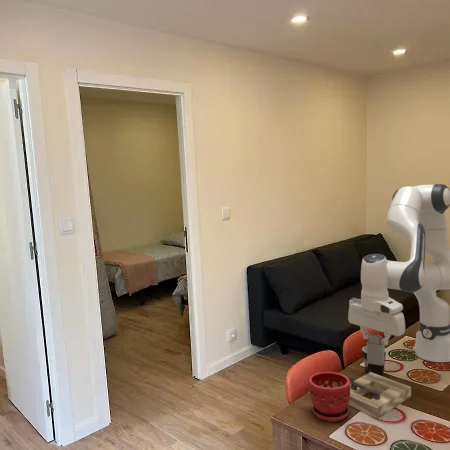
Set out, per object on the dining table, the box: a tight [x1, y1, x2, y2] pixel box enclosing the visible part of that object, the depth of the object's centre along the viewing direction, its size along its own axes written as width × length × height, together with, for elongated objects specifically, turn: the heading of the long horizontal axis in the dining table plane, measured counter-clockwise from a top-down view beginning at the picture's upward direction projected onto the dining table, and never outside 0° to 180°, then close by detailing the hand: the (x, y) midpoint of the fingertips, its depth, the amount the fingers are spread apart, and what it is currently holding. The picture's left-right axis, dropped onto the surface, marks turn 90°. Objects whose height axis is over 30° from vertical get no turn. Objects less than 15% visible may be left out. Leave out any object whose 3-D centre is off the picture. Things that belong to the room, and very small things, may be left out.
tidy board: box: [348, 372, 412, 419], centre depth 155 cm, size 20×16×8 cm
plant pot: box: [308, 371, 350, 422], centre depth 147 cm, size 13×13×12 cm
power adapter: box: [366, 329, 386, 366], centre depth 154 cm, size 3×5×12 cm, turn 56°
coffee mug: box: [361, 345, 387, 377], centre depth 174 cm, size 12×9×10 cm
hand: (375, 341), depth 154 cm, fingers closed on power adapter, 6 cm apart
